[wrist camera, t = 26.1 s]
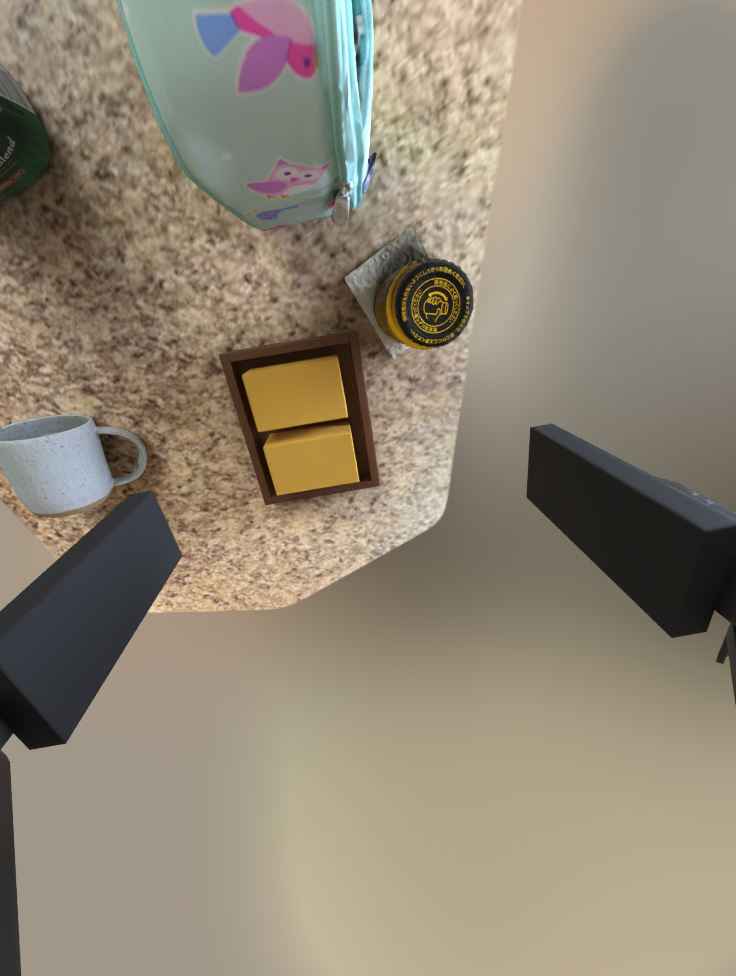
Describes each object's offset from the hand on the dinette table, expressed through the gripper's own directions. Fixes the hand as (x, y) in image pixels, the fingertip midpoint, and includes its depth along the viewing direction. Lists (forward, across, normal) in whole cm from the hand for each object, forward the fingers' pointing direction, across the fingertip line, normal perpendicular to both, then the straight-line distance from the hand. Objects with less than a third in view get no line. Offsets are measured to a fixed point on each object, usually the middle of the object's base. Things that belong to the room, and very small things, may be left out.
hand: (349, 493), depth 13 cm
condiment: (+27, +7, +6) cm, 28 cm away
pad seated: (+26, -4, -7) cm, 27 cm away
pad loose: (+26, -4, 0) cm, 26 cm away
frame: (+27, -4, -4) cm, 27 cm away
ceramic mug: (+27, -26, -3) cm, 38 cm away
